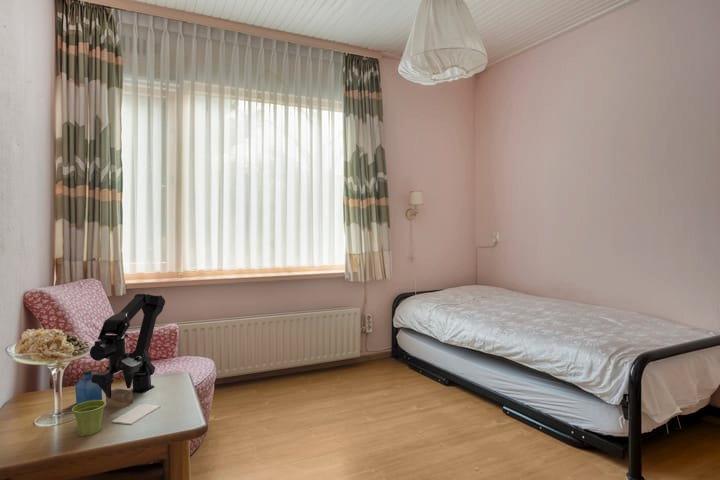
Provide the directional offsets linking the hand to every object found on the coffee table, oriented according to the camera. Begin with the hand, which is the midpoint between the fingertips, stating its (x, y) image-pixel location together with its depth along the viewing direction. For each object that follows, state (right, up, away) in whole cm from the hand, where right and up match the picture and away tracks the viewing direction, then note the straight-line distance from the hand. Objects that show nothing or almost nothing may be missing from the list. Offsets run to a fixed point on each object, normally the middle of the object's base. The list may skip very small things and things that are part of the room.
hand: (119, 392), depth 164 cm
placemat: (+11, -4, -9) cm, 15 cm away
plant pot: (+2, -6, -21) cm, 22 cm away
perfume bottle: (-13, -5, +4) cm, 15 cm away
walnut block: (0, -4, 0) cm, 4 cm away
